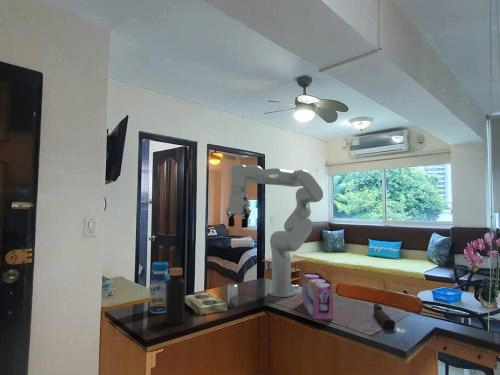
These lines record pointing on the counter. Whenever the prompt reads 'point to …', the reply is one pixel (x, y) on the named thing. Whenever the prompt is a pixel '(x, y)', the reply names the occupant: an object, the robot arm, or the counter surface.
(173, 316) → the vinegar
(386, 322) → the hand tool
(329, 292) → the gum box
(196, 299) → the jig plate
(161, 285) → the beverage bottle
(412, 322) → the counter surface
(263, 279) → the counter surface
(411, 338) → the counter surface
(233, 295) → the steel sleeve
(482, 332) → the counter surface
